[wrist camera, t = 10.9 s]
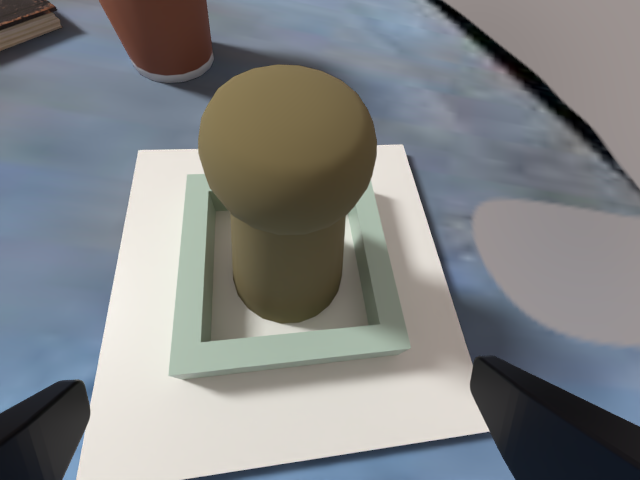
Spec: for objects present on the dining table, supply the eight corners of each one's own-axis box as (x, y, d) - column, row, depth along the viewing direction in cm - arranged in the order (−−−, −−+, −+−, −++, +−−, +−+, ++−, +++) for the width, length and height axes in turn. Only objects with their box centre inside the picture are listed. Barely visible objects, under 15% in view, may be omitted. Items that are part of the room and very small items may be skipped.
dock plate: (484, 430, 16) (521, 433, 13) (84, 492, 13) (37, 510, 11) (397, 147, 24) (410, 117, 22) (144, 153, 22) (126, 120, 19)
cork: (210, 295, 17) (107, 135, 7) (265, 208, 20) (244, 10, 10) (316, 343, 16) (362, 241, 6) (356, 246, 19) (430, 73, 9)
